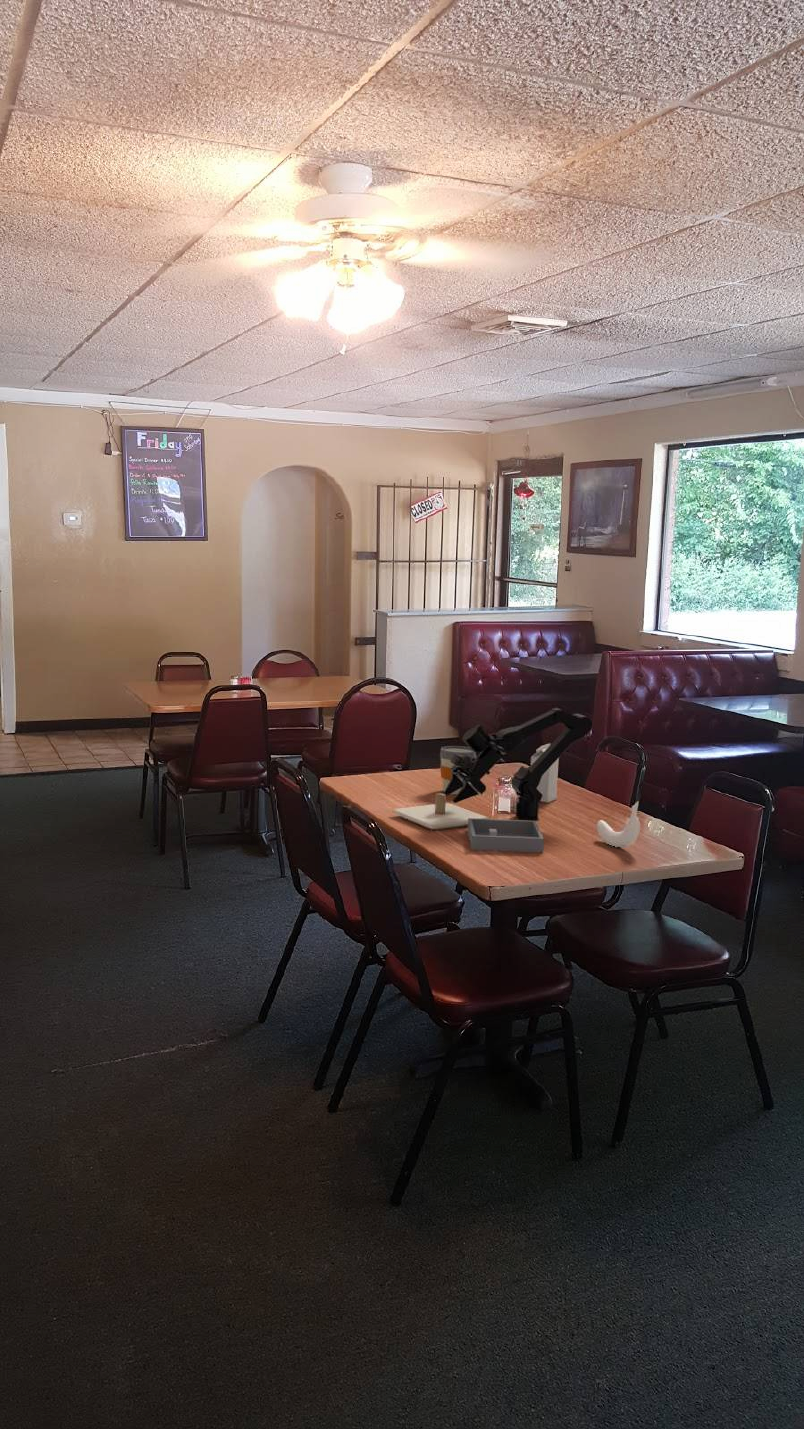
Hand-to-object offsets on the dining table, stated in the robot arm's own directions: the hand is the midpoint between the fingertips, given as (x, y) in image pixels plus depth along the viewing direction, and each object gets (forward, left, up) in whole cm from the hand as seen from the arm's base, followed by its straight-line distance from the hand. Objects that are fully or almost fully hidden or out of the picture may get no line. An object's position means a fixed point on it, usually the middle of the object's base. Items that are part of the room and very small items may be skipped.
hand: (449, 798), depth 330 cm
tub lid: (+3, +1, -7) cm, 7 cm away
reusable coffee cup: (-4, -40, -7) cm, 41 cm away
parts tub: (-15, +23, -7) cm, 28 cm away
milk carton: (-33, -33, -7) cm, 48 cm away
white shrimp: (-47, +23, -7) cm, 53 cm away
